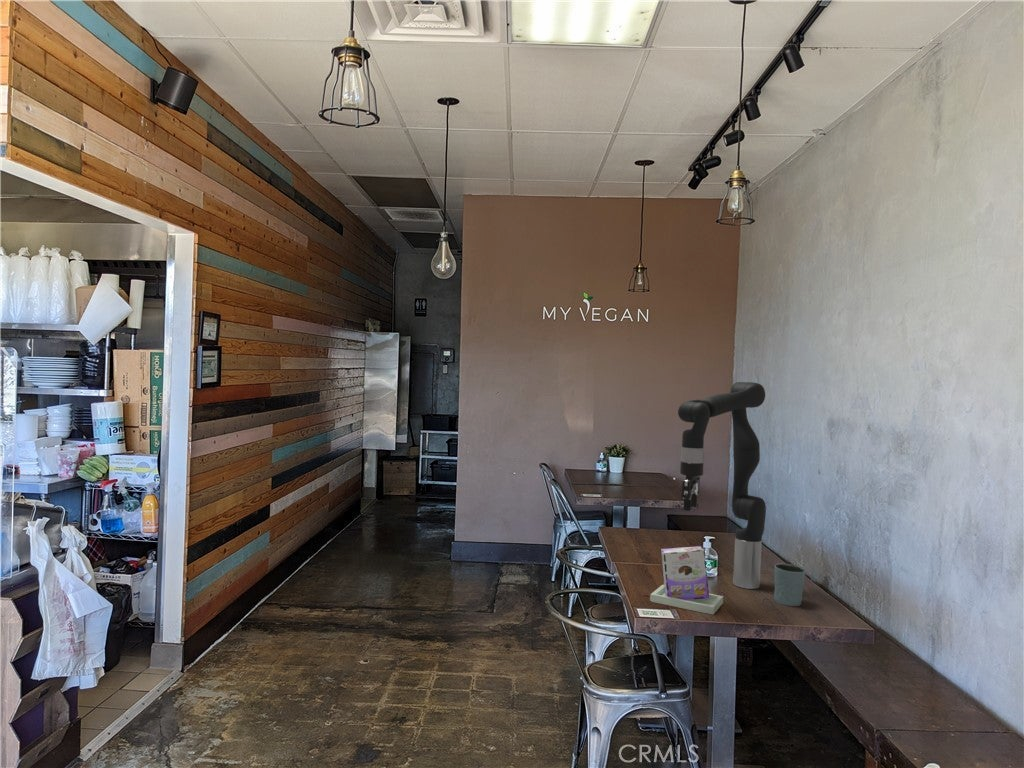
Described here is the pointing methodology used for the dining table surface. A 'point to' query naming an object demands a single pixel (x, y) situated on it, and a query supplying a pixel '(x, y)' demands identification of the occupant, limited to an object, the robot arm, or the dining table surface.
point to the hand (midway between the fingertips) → (690, 508)
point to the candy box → (685, 573)
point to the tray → (688, 601)
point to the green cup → (788, 584)
